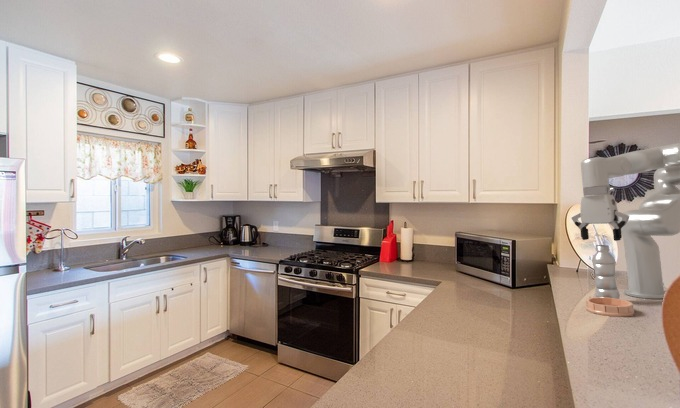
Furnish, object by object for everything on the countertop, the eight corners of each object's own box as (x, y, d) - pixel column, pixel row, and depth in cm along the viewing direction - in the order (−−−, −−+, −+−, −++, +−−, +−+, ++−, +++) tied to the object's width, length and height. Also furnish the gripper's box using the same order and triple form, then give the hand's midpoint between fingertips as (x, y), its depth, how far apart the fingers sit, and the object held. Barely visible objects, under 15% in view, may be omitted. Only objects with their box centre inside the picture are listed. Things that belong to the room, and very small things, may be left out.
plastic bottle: (625, 304, 112) (618, 245, 112) (602, 304, 113) (596, 246, 114) (613, 299, 118) (607, 244, 119) (592, 299, 119) (586, 245, 120)
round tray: (597, 304, 114) (596, 295, 114) (641, 311, 103) (640, 302, 103) (578, 310, 108) (578, 301, 108) (623, 319, 98) (622, 309, 98)
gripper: (631, 189, 111) (636, 239, 110) (575, 194, 126) (579, 238, 126) (620, 189, 108) (625, 241, 107) (564, 194, 123) (568, 240, 122)
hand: (600, 239), depth 116 cm, fingers open, 9 cm apart
